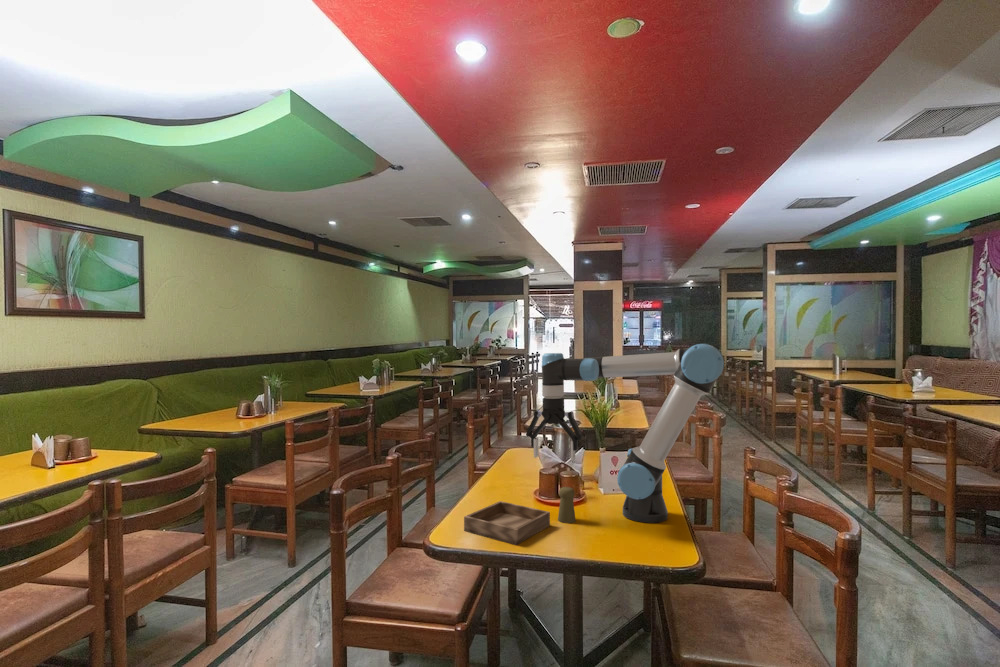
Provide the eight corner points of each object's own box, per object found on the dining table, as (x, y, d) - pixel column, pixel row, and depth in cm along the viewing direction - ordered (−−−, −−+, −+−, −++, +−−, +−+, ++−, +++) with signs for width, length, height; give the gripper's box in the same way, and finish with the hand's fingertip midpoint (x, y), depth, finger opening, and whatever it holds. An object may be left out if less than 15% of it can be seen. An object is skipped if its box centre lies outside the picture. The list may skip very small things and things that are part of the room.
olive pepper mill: (555, 522, 172) (555, 489, 172) (560, 516, 178) (560, 484, 178) (573, 524, 170) (573, 491, 170) (577, 518, 176) (577, 486, 176)
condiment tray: (549, 525, 169) (549, 512, 169) (516, 545, 152) (516, 530, 152) (500, 513, 180) (500, 501, 180) (464, 530, 164) (464, 516, 164)
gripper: (591, 397, 177) (592, 458, 177) (524, 395, 188) (525, 453, 188) (584, 399, 171) (586, 463, 170) (516, 397, 181) (517, 457, 181)
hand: (554, 458), depth 179 cm, fingers open, 13 cm apart
